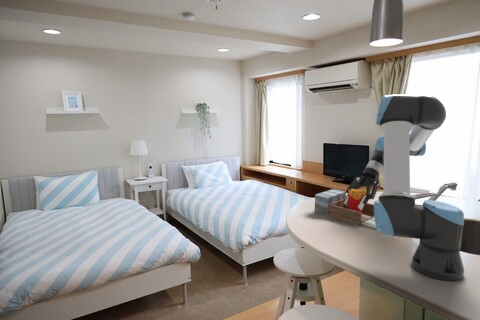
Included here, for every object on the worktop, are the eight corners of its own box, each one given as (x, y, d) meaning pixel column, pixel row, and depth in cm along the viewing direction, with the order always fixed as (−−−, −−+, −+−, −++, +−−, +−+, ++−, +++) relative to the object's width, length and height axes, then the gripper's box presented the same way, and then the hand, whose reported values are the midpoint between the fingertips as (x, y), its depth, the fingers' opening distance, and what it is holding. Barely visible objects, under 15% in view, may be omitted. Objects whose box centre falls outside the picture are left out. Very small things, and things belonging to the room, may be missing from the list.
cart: (376, 230, 139) (378, 209, 137) (314, 212, 163) (315, 194, 162) (392, 221, 150) (394, 202, 149) (332, 205, 175) (333, 189, 173)
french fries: (347, 212, 154) (348, 189, 152) (347, 210, 158) (348, 187, 156) (365, 214, 152) (366, 191, 150) (364, 212, 155) (366, 189, 153)
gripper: (393, 178, 153) (373, 216, 146) (357, 172, 169) (338, 205, 162) (389, 169, 149) (368, 207, 142) (352, 164, 165) (332, 197, 158)
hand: (352, 206), depth 152 cm, fingers closed on french fries, 7 cm apart
